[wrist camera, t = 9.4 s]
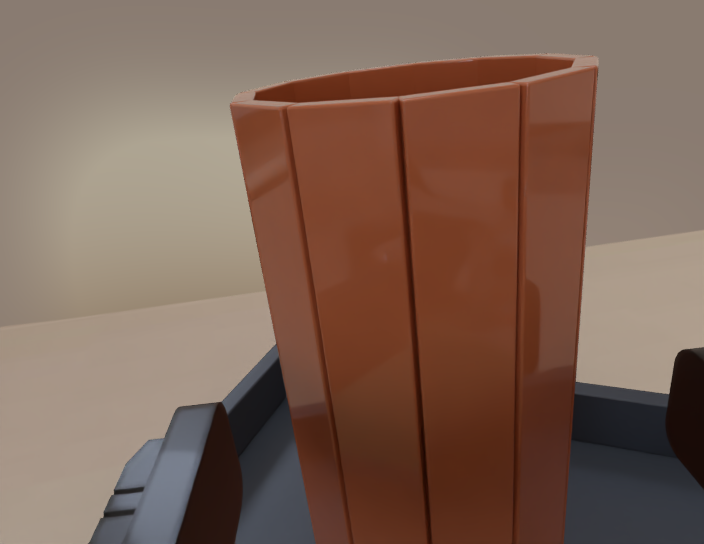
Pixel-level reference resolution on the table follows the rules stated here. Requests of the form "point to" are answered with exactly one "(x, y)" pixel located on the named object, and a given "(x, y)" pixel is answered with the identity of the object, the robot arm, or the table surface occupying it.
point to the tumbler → (427, 288)
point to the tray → (583, 484)
